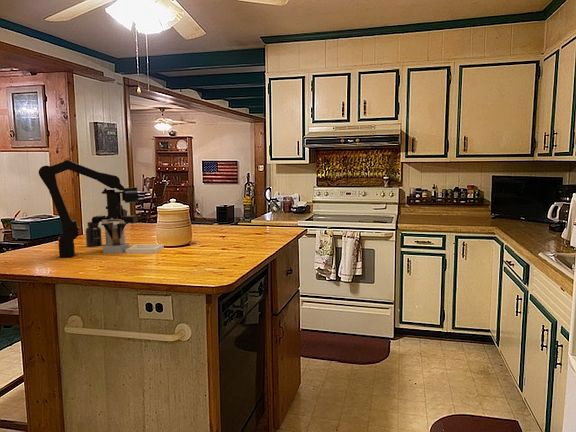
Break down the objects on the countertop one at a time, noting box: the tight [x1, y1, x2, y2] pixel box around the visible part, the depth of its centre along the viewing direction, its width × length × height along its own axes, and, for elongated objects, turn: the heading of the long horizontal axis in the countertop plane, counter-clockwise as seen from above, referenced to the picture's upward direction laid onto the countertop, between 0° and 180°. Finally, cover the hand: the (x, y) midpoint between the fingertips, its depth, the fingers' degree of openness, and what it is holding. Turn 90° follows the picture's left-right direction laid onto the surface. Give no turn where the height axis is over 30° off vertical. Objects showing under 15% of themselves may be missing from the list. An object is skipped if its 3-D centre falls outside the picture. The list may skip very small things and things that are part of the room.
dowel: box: [112, 228, 120, 246], centre depth 194 cm, size 3×3×9 cm
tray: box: [125, 243, 165, 254], centre depth 194 cm, size 11×13×2 cm
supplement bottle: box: [85, 221, 103, 248], centre depth 207 cm, size 7×7×12 cm
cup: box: [104, 223, 126, 245], centre depth 208 cm, size 8×8×10 cm
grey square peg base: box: [102, 242, 130, 254], centre depth 194 cm, size 8×8×4 cm
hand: (116, 238), depth 194 cm, fingers closed on dowel, 3 cm apart
